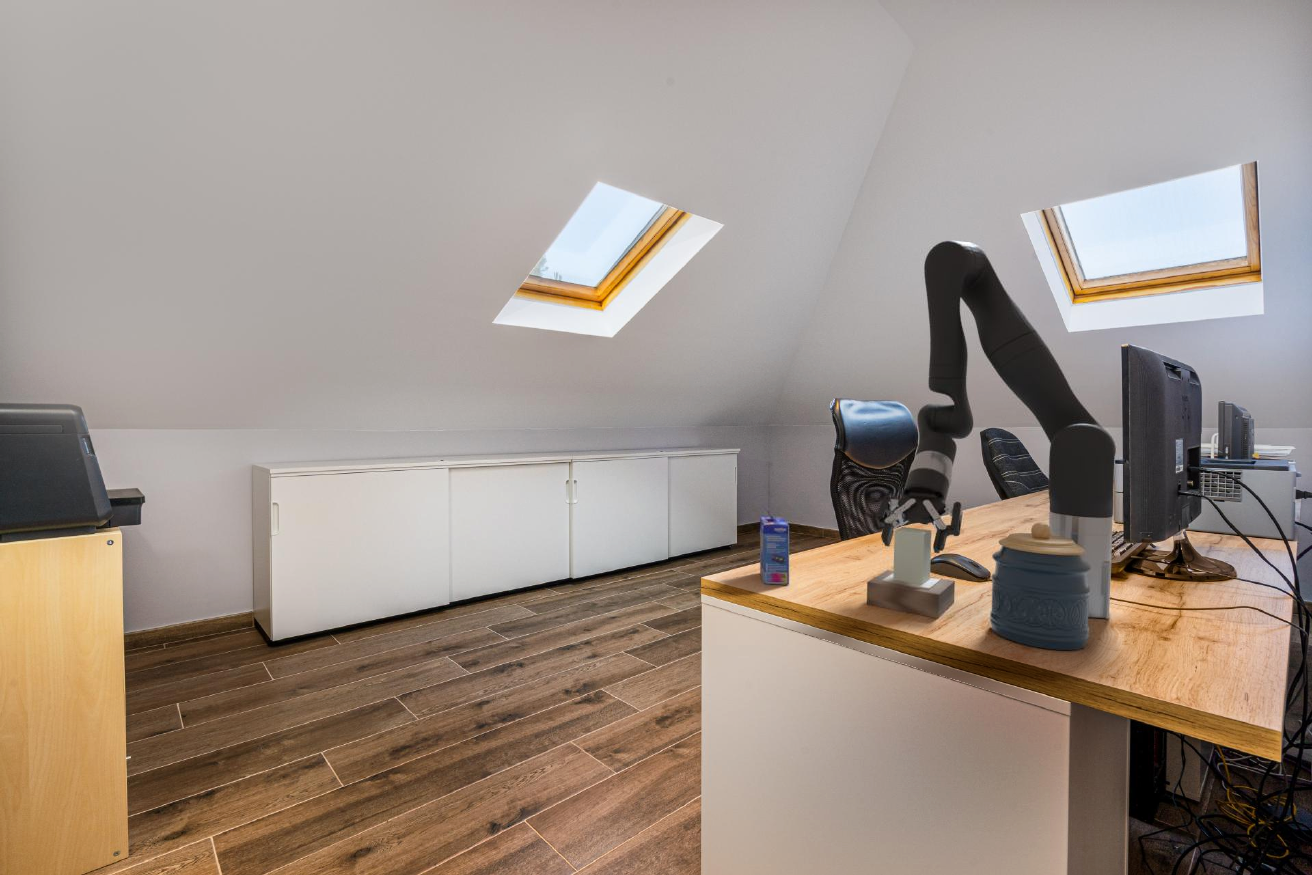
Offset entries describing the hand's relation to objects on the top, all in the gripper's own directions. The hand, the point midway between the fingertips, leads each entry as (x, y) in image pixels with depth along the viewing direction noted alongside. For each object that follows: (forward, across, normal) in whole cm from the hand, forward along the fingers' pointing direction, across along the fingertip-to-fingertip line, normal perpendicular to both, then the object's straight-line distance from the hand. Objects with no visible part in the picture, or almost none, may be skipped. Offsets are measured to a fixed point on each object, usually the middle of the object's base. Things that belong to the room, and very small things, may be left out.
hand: (910, 547), depth 108 cm
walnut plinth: (+6, 0, +8) cm, 10 cm away
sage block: (+3, 0, +5) cm, 6 cm away
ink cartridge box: (+7, -27, +8) cm, 29 cm away
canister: (+10, +20, +5) cm, 23 cm away
